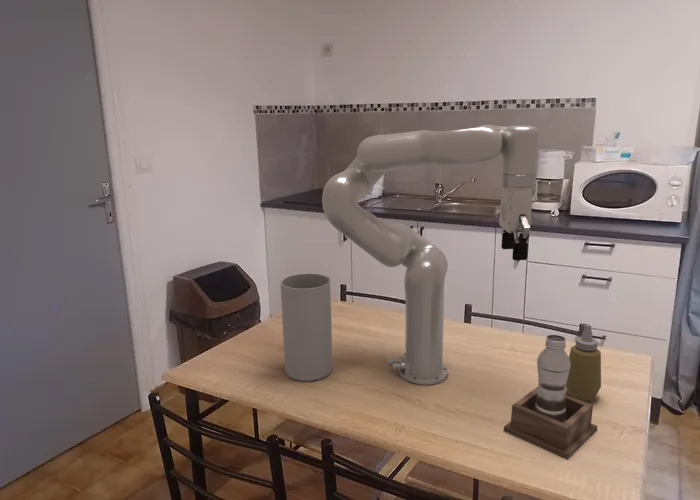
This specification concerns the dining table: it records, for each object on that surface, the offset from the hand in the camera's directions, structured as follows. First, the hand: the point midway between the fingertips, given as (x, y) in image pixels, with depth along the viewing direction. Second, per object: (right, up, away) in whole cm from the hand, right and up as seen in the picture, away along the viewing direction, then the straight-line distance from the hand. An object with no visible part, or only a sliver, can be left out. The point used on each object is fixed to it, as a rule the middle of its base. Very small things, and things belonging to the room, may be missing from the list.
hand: (513, 254), depth 129 cm
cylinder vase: (-49, -31, +16) cm, 61 cm away
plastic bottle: (+4, -37, -11) cm, 39 cm away
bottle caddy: (+4, -38, -12) cm, 40 cm away
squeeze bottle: (+16, -34, +2) cm, 38 cm away
